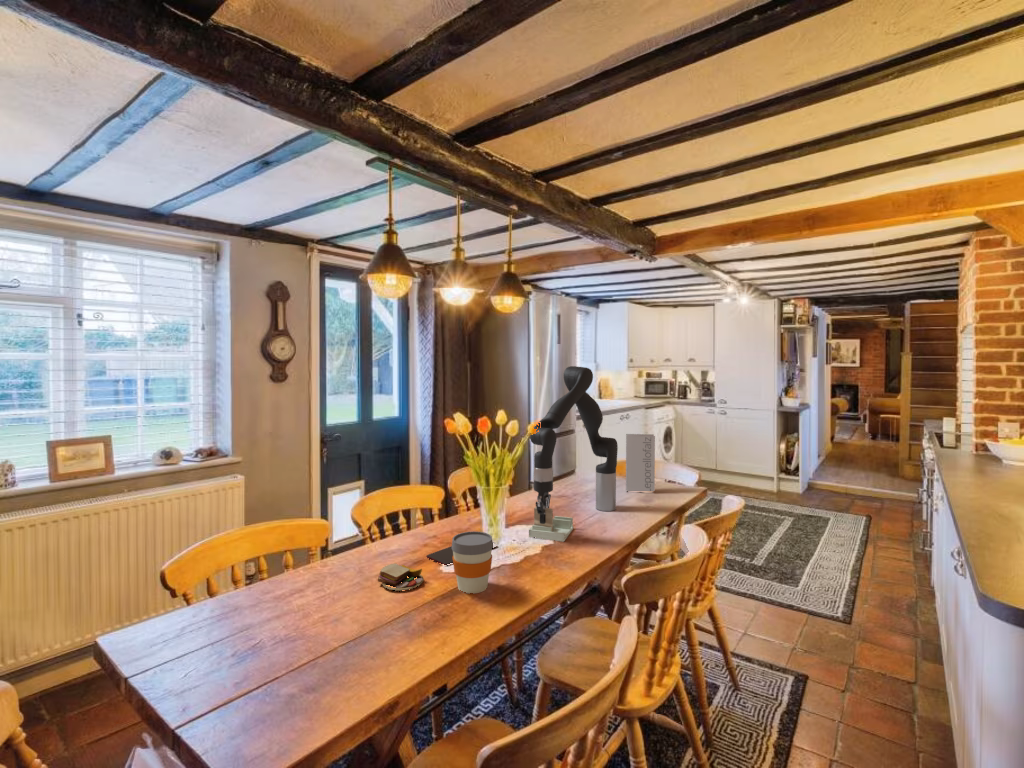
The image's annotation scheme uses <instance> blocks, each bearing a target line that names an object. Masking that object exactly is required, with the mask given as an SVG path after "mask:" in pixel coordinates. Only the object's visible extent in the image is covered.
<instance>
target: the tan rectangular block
mask: <svg viewBox="0 0 1024 768" xmlns="http://www.w3.org/2000/svg"><path fill="white" fill-rule="evenodd" d="M553 510H554V509H553V508H550V507H549V508H546V523H545V524H542V523H540V514H538V513H537V508H536V506H535V507H534V508H533V514H534V515H533V517H534V518H533V525H536V526H545V527H552V532H553V519H554V515H553V514H554V513H553ZM541 511H542V510H541Z"/></svg>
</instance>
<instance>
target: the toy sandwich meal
mask: <svg viewBox="0 0 1024 768" xmlns="http://www.w3.org/2000/svg"><path fill="white" fill-rule="evenodd" d="M422 573H423V569H422V568H419V569H415V568H411V567H409V566H407V565H405V564H401V565H399V564H397V563H390V564H387V565H385V566H384V567H382V568H381V569H380V572H379V576H378V577H377V582H379V583H382V586H383V587H384V588H385V589H386V588H387V589H386V590H388V589H389V590H388V591H390V590H395V591H394V592H396V591H402V590H409V589H412V590H414V589H413V588H415V587H417V586H418V587H420V585H422V583H424V579H425V578H424V576H423V575H422ZM407 576H408V577H409V578H407ZM416 577H417V579H415V580H414V578H416ZM401 582H402V583H401ZM386 585H390V586H393V587H396V588H391V587H388V586H386ZM418 587H417V588H418ZM415 589H416V588H415ZM409 591H410V590H409ZM402 592H403V591H402Z"/></svg>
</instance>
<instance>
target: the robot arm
mask: <svg viewBox="0 0 1024 768" xmlns="http://www.w3.org/2000/svg"><path fill="white" fill-rule="evenodd" d="M593 379H594V373H593V371H592V369H591V368H590V367H585V366H577V365H572V366H567V367H566V368H565V369H564V372H563V381H564V384H565V387H566V388H567V390H568V392H566V394H564V395H562V396H561V397H560V398H558V399H557V400H556V401H555V402H554V403H553V404H551V406H550V408H549V409H548V411H547V412H546V414H545V416H544V417H542V419H541V420H540V421H539V422H541V428H540V423H539V422H537V423H538V424H539V426H538V425H537V423H536V424H535V425H536V426H535V425H534V426H533V428H534V429H537V427H538V429H537V430H536V432H537V431H538V430H539V432H537V433H536V434H533V435H530V434H529V440H530V442H531V443H532V444H534V445H536V446H540V447H542V449H541V450H540V451H536V452H535V453H534V456H533V457H534V459H533V461H534V462H533V464H534V465H533V491H534V492H536V493H537V496H536V500H537V501H535V507H536V508H537V513H538V514H540V523H542V524H545V523H546V508H550V503H551V497H552V496H551V494H549V493H551V492H553V490H554V471H553V455H554V452H555V448H556V444H557V434H556V431H555V429H559V428H560V427H561V425H562V423H563V422H564V421H565V419H566V417H567V415H568V413H569V412H570V411H571V409H572V408H573V407H574V406H575V407H576V408H577V410H578V413H579V416H580V420H581V421H582V423H583V425H584V428H585V430H586V433H587V437H588V440H589V444H590V447H591V451H592V453H593V455H595V456H596V457H599V458H606V461H605V462H603V463H599V464H596V466H595V509H596V510H598V511H603V512H614V511H615V510H617V465H618V449H619V447H618V441H617V439H616V438H613V437H609V436H607V437H605V436H601V435H600V432H599V430H600V428H601V426H602V423H603V420H604V417H603V413H602V410H601V408H600V405H599V404H598V402H597V401H596V400H595V399H594V398H593V397H592V396H591V395H590V394H589V393H588V392H587V391H588V389H589V388H590V387H591V385H592V383H593ZM541 510H542V511H541Z"/></svg>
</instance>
